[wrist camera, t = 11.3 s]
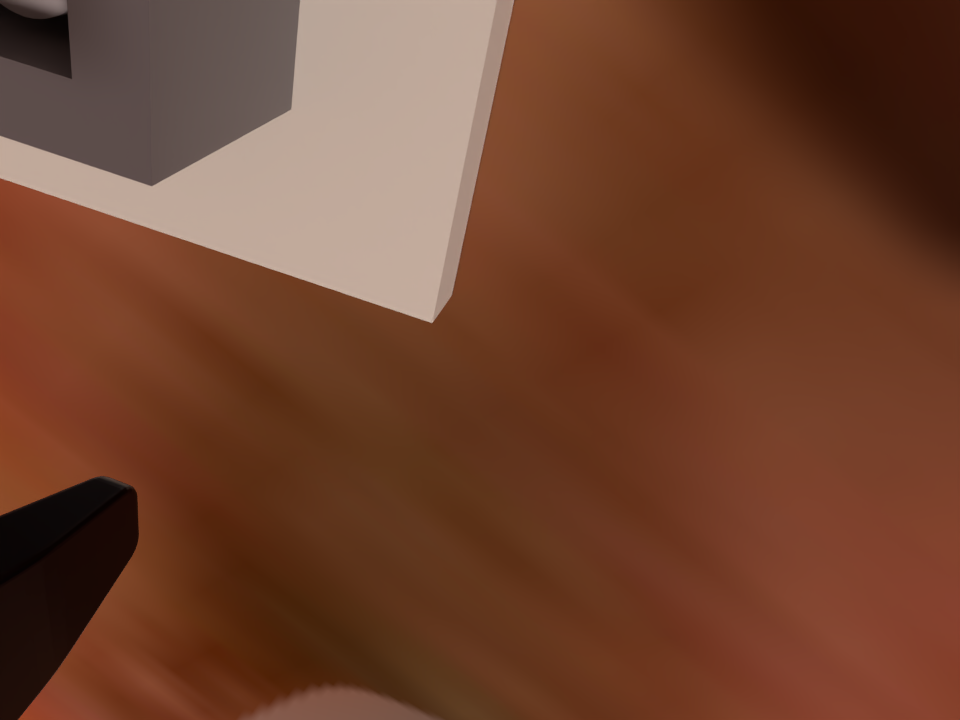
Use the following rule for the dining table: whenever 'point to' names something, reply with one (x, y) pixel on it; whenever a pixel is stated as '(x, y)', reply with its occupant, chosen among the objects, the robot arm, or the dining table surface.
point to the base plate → (331, 154)
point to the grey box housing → (145, 79)
